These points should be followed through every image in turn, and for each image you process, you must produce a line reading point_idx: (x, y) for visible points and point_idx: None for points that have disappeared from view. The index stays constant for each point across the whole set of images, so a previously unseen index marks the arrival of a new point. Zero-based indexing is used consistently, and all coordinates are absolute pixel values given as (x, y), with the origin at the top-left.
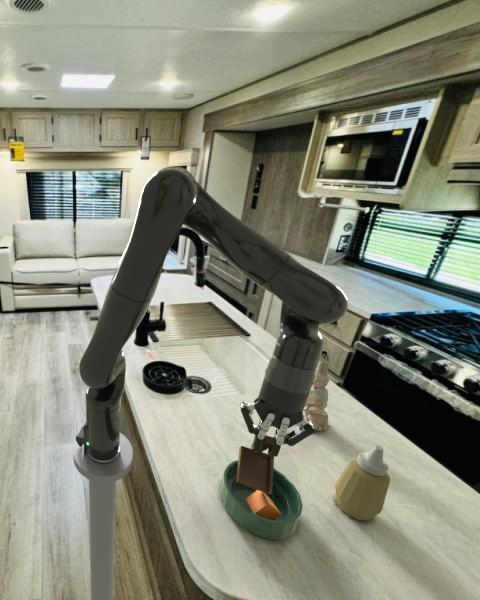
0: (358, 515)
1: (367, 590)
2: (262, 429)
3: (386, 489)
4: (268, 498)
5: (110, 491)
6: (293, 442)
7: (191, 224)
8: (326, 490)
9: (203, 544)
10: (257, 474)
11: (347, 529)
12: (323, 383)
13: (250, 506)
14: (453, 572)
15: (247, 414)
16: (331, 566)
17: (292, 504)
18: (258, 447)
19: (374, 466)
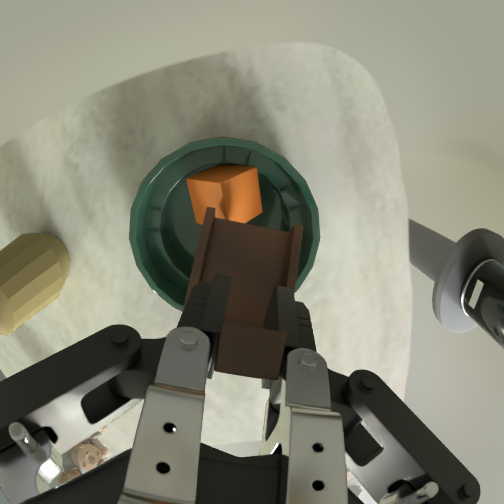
0: (44, 235)
1: (82, 102)
2: (331, 414)
3: None
4: None
5: (430, 242)
6: (101, 345)
7: None
8: (81, 285)
9: (361, 113)
10: (235, 262)
11: (68, 209)
12: (65, 477)
13: (258, 188)
14: None
15: (443, 478)
16: (118, 122)
17: (150, 223)
18: (294, 308)
19: None
